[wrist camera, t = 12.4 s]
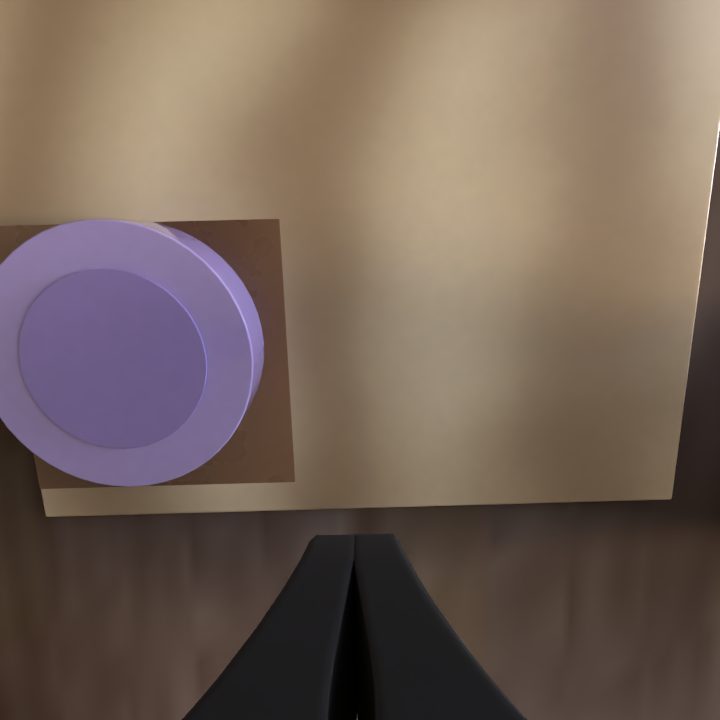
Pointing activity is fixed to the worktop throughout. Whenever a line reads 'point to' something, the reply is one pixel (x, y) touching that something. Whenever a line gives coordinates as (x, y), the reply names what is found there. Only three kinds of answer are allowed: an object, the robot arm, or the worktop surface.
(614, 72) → the board
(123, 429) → the saucer
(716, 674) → the worktop surface
